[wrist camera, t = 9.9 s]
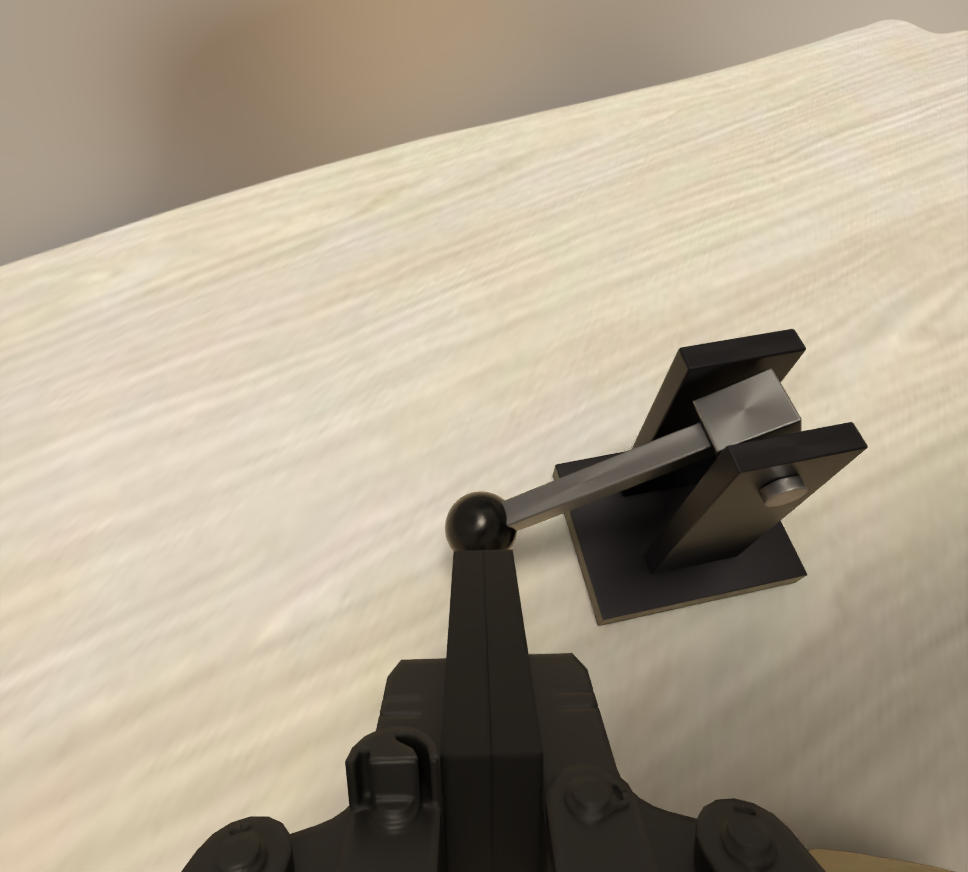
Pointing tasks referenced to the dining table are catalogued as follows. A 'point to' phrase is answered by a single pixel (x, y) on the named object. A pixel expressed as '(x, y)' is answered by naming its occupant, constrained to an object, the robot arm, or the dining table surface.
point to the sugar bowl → (865, 863)
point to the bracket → (705, 496)
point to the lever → (629, 464)
